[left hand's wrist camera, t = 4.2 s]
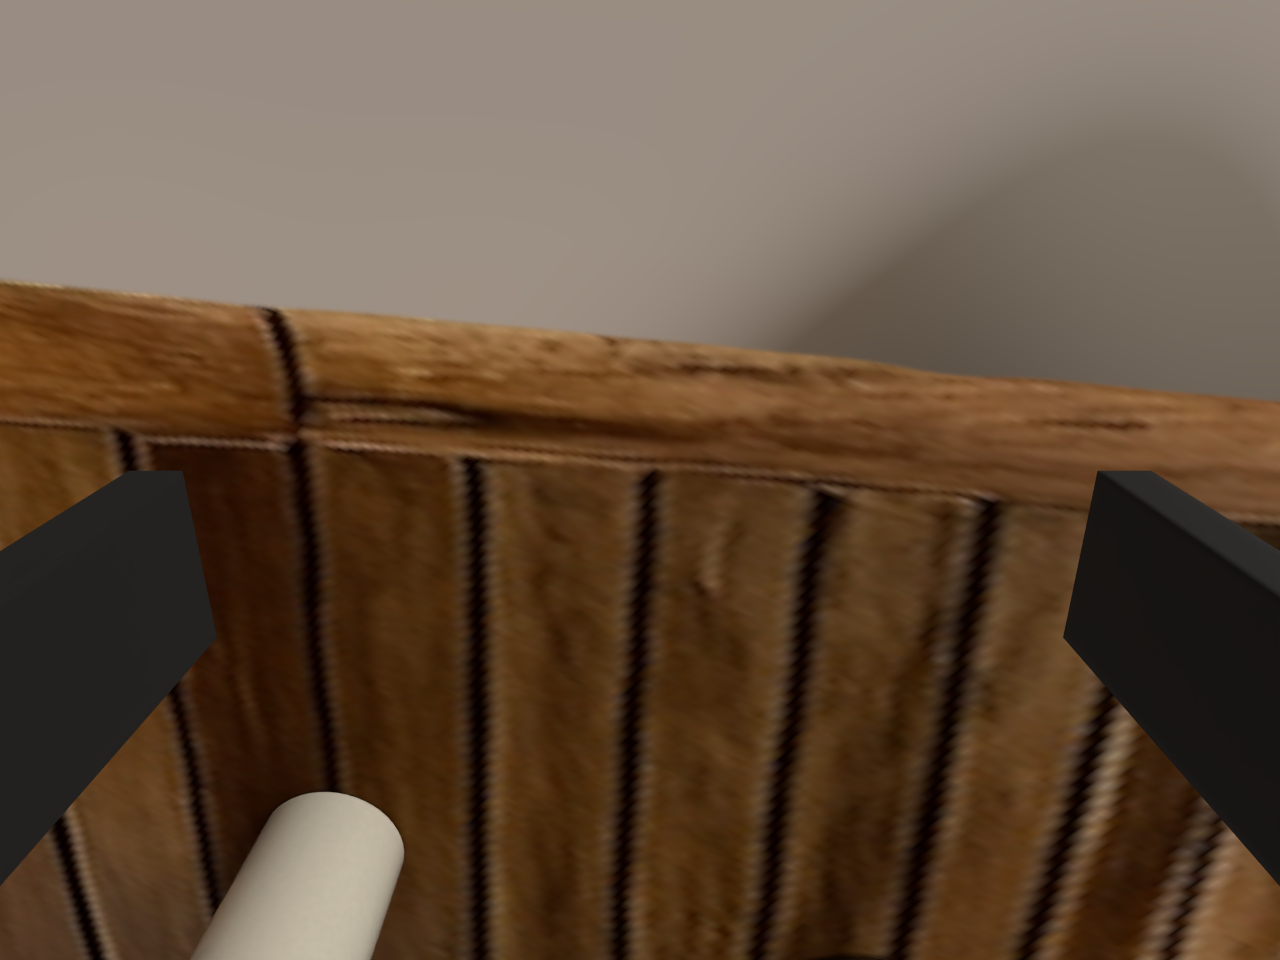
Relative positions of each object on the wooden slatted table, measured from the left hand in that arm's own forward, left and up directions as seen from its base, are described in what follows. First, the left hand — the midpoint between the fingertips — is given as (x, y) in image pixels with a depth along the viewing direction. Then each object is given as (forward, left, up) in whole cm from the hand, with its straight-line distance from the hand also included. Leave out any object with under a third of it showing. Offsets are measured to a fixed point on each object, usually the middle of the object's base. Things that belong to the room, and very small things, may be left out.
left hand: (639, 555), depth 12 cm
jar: (-33, +18, -28) cm, 47 cm away
